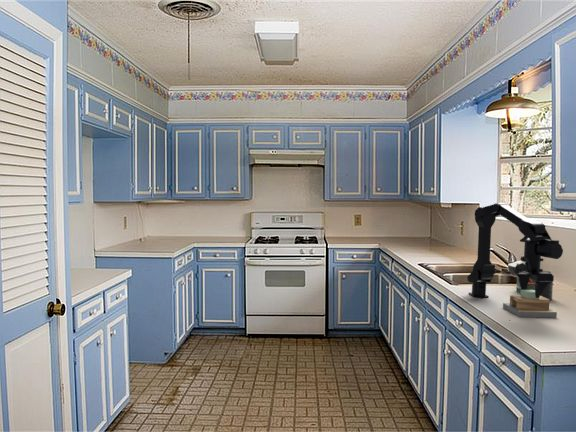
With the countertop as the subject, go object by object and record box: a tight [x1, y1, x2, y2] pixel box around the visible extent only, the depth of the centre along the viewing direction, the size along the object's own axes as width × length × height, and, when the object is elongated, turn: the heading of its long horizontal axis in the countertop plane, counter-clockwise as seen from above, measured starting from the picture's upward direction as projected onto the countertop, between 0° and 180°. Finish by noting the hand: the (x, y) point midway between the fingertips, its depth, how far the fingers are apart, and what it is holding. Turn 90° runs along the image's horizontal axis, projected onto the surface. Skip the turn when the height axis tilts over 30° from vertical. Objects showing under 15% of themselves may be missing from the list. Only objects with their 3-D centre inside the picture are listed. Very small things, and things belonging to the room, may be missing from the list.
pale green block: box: [519, 290, 539, 299], centre depth 165 cm, size 4×5×2 cm
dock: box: [502, 302, 558, 319], centre depth 165 cm, size 12×14×2 cm
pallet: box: [509, 294, 551, 310], centre depth 165 cm, size 6×12×4 cm, turn 91°
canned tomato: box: [515, 275, 535, 294], centre depth 198 cm, size 8×8×11 cm
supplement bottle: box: [540, 270, 554, 301], centre depth 188 cm, size 7×7×12 cm
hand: (530, 294), depth 165 cm, fingers open, 9 cm apart
